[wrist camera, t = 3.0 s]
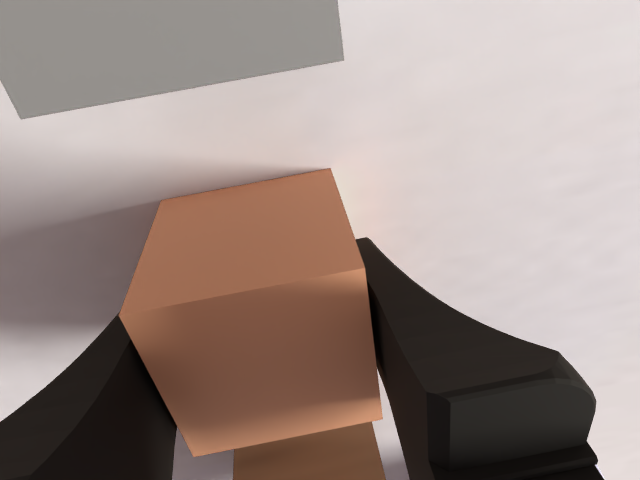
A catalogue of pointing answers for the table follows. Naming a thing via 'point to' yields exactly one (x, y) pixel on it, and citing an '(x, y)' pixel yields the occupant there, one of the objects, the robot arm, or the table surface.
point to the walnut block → (314, 457)
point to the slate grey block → (153, 47)
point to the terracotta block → (255, 314)
